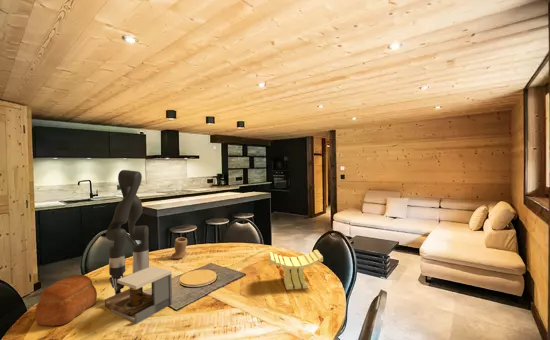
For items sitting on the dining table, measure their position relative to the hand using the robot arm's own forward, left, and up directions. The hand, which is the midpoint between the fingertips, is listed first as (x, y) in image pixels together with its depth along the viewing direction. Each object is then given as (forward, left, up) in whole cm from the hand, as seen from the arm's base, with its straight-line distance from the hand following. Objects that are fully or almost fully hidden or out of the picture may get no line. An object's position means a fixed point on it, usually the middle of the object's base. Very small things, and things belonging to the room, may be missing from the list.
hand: (118, 296), depth 142 cm
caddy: (+12, 0, -2) cm, 12 cm away
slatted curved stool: (+78, +61, -2) cm, 99 cm away
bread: (-8, -20, -2) cm, 21 cm away
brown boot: (-23, +62, -2) cm, 66 cm away
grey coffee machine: (+20, 0, -1) cm, 20 cm away
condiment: (+14, +1, -2) cm, 14 cm away
